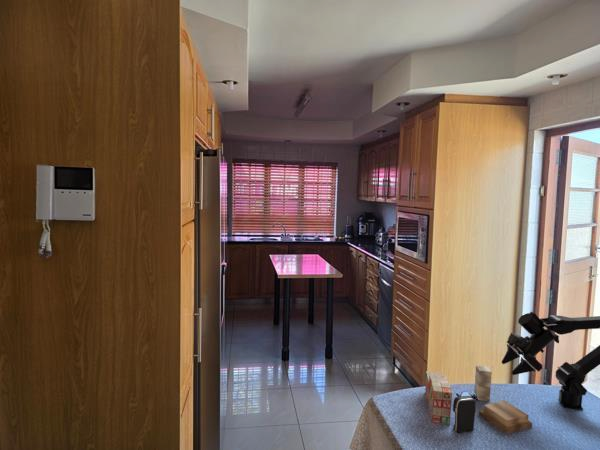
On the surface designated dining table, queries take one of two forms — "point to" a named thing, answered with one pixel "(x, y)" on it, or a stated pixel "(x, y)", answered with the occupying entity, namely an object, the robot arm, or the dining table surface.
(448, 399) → the stack of blocks
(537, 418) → the dining table surface
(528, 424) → the wooden base plate
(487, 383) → the ash block
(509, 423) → the maple block
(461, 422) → the battery charger
